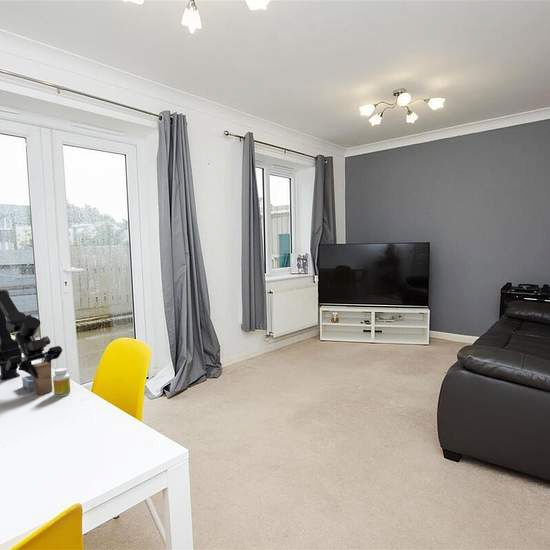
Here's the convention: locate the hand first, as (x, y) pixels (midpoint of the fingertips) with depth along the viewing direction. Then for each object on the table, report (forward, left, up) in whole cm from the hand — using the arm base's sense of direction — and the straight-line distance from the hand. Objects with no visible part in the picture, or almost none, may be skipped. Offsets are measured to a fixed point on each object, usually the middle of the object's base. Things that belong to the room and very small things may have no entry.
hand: (44, 375), depth 145 cm
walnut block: (-1, 0, -7) cm, 7 cm away
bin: (-10, 0, -7) cm, 12 cm away
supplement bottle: (+7, +4, -7) cm, 10 cm away
